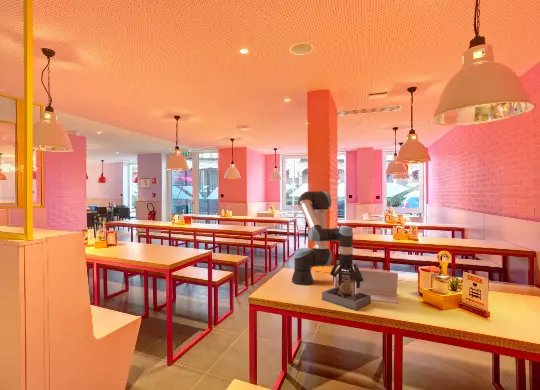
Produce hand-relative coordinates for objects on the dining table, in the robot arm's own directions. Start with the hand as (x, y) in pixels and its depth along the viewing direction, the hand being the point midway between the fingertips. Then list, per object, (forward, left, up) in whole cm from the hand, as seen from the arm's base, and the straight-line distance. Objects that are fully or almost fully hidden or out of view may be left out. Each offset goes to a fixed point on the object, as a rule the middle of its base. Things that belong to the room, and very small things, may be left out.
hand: (346, 290), depth 160 cm
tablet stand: (+7, +21, -7) cm, 23 cm away
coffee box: (+1, 0, -5) cm, 5 cm away
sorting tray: (0, 0, -6) cm, 6 cm away
